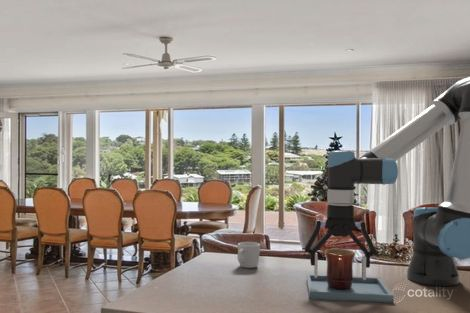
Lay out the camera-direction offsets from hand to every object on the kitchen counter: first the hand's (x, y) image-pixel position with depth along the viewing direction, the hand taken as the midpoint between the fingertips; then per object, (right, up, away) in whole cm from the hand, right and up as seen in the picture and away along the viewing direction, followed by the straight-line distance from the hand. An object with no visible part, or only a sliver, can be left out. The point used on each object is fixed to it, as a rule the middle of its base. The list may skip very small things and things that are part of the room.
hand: (339, 277), depth 128 cm
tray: (+2, -4, 0) cm, 4 cm away
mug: (0, -3, 0) cm, 3 cm away
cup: (-26, -4, +26) cm, 37 cm away
